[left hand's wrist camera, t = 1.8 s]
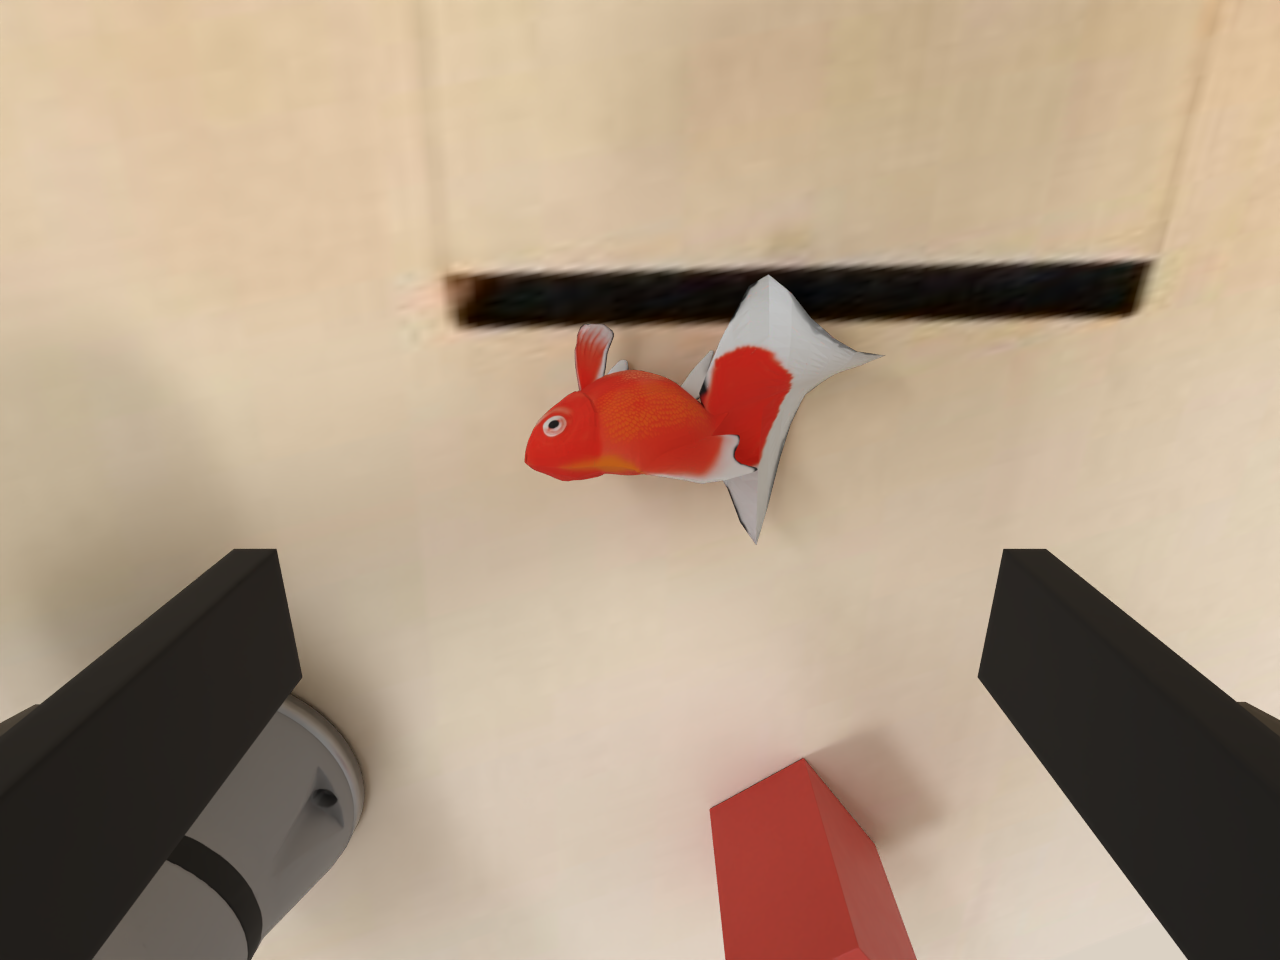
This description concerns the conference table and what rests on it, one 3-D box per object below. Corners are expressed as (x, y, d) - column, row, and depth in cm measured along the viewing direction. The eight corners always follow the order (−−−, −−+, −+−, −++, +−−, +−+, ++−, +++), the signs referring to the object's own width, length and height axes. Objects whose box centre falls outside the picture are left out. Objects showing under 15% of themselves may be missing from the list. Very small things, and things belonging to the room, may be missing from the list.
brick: (803, 757, 41) (858, 947, 31) (875, 844, 44) (949, 1049, 33) (709, 809, 43) (730, 1007, 32) (783, 890, 45) (826, 1101, 34)
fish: (512, 214, 26) (599, 352, 20) (836, 233, 33) (984, 342, 26) (493, 437, 33) (553, 597, 27) (765, 417, 40) (869, 541, 33)
